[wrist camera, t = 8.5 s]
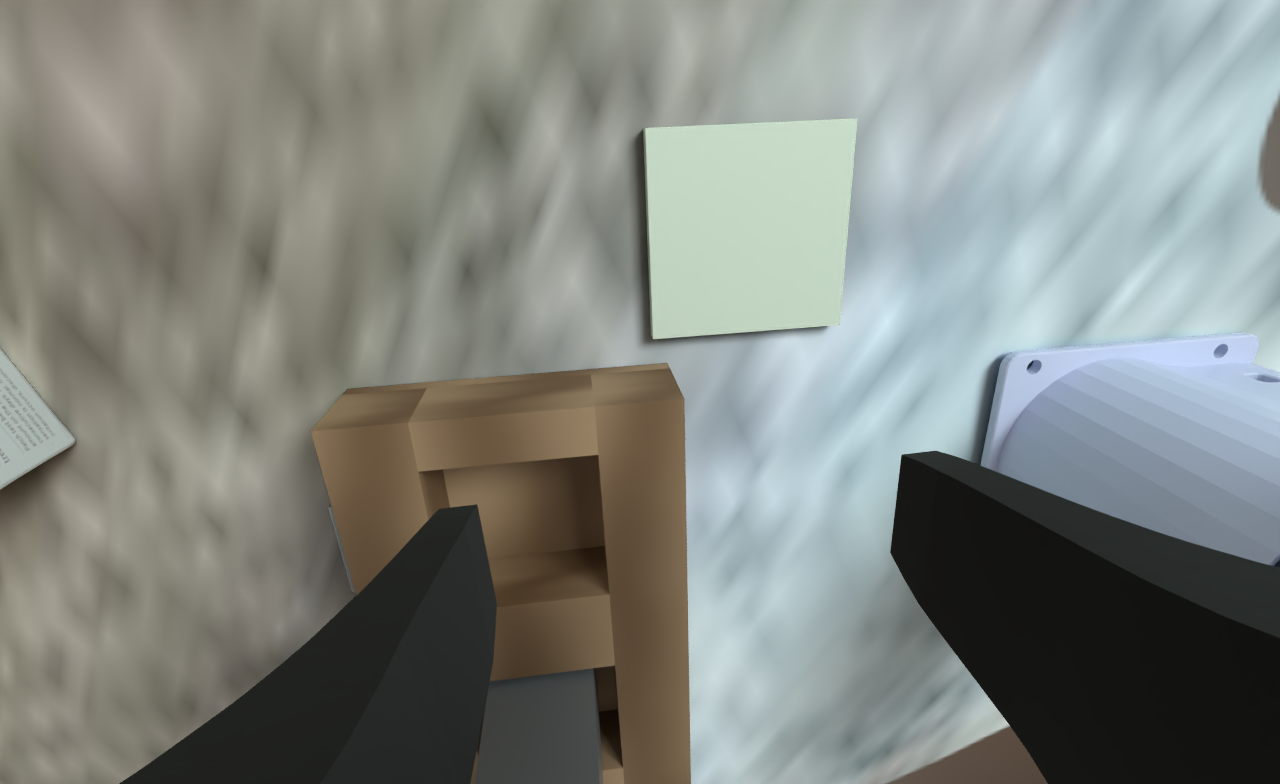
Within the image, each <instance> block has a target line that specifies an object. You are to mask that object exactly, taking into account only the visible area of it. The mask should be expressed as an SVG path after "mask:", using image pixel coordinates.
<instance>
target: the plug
mask: <svg viewBox="0 0 1280 784" xmlns="http://www.w3.org/2000/svg"><path fill="white" fill-rule="evenodd" d="M475 784H603V770H602V754H601V738H600V722H599V706H598V690H597V680H596V670H595V668H592V669H584V670H576V671H568V672H560V673H552V674H544V675H536V676H528V677H520V678H512V679H504V680H496V681H490V683H489V688H488V693H487V699H486V705H485V713H484V720H483V727H482V734H481V742H480V749H479V756H478V763H477V770H476V778H475Z"/></svg>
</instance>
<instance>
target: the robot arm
mask: <svg viewBox="0 0 1280 784" xmlns="http://www.w3.org/2000/svg"><path fill="white" fill-rule="evenodd" d="M1258 346H1259V341H1258V338H1257V337H1256V336H1255V335H1251V334H1248V333H1242V332H1239V333H1227V334H1215V335H1203V336H1191V337H1179V338H1167V339H1155V340H1143V341H1131V342H1119V343H1107V344H1096V345H1084V346H1072V347H1060V348H1048V349H1036V350H1024V351H1015V352H1011V353H1010V354H1008V355H1007V356H1005V358H1004V359H1003V360H1002V362H1001V364H1000V368H999V373H998V378H997V383H996V388H995V393H994V399H993V404H992V409H991V414H990V419H989V424H988V429H987V434H986V439H985V444H984V450H983V455H982V460H981V465H978V464H975V463H972V462H969V461H967V460H964V459H961V458H958V457H955V456H952V455H949V454H945V453H942V452H938V451H930V452H921V453H913V454H904V455H902V457H901V465H900V474H899V482H898V491H897V500H896V508H895V517H894V525H893V534H892V543H891V551H890V553H891V555H892V557H893V559H894V561H895V562H896V564H897V566H898V568H899V570H900V572H901V574H902V576H903V577H904V579H905V581H906V583H907V585H908V586H909V588H910V590H911V591H912V593H913V595H914V597H915V598H916V600H917V602H918V603H919V605H920V606H921V608H922V609H923V610H924V612H925V613H926V614H927V616H928V617H929V619H930V620H931V621H932V623H933V624H934V625H935V627H936V628H937V629H938V631H939V632H940V633H941V635H942V636H943V637H944V639H945V640H946V641H947V643H948V644H949V646H950V647H951V648H952V649H953V651H954V652H955V653H956V655H957V656H958V657H959V659H960V660H961V661H962V663H963V664H964V665H965V667H966V668H967V669H968V671H969V672H970V673H971V675H972V676H973V677H974V678H975V680H976V681H977V682H978V684H979V685H980V686H981V688H982V689H983V690H984V692H985V693H986V694H987V696H988V697H989V698H990V700H991V701H992V702H993V704H994V705H995V706H996V708H997V709H998V710H999V712H1000V713H1001V714H1002V715H1003V717H1004V718H1005V719H1006V721H1007V722H1008V723H1009V725H1010V726H1011V728H1012V729H1013V731H1014V732H1015V733H1016V735H1017V736H1018V738H1019V739H1020V741H1021V742H1022V743H1023V745H1024V746H1025V748H1026V749H1027V751H1028V752H1029V753H1030V755H1031V757H1032V758H1033V760H1034V762H1035V763H1036V765H1037V767H1038V768H1039V770H1040V771H1041V773H1042V775H1043V776H1044V778H1045V779H1046V781H1047V783H1048V784H1280V372H1278V371H1275V370H1271V369H1268V368H1265V367H1262V366H1259V365H1256V364H1253V360H1254V358H1255V355H1256V352H1257V350H1258ZM1031 361H1033V364H1032V366H1031V367H1030V368H1029V369H1028V370H1027V366H1028V364H1029V363H1030V362H1031ZM496 612H497V602H496V597H495V591H494V586H493V581H492V576H491V571H490V566H489V561H488V556H487V551H486V546H485V541H484V536H483V531H482V525H481V520H480V515H479V510H478V505H477V504H476V505H467V506H459V507H450V508H442V509H439V510H438V511H437V512H436V513H435V514H434V515H433V516H432V517H431V518H430V519H429V520H428V521H427V522H426V523H425V524H424V525H423V526H422V527H421V528H420V530H419V531H418V532H417V533H416V534H415V535H414V536H413V537H412V538H411V539H410V540H409V542H408V543H407V544H406V545H405V546H404V547H403V548H402V549H401V550H400V551H399V552H398V553H397V554H396V556H395V557H394V558H393V559H392V560H391V561H390V562H389V563H388V564H387V565H386V566H385V567H384V568H383V569H382V570H381V571H380V572H379V573H378V574H377V575H376V576H375V578H374V579H373V580H372V581H371V582H370V583H369V584H368V585H367V586H366V587H365V588H364V589H363V590H362V591H361V592H360V593H359V594H358V595H357V596H356V597H354V598H353V599H352V600H351V601H350V602H349V603H348V604H347V605H346V606H345V607H344V608H343V609H342V610H341V611H340V612H339V613H338V614H337V615H336V616H335V617H333V618H332V619H331V620H330V621H329V622H328V623H327V624H326V625H325V626H324V627H323V628H322V629H321V630H320V631H319V632H318V633H317V634H316V635H315V636H314V637H312V638H311V639H310V640H309V641H308V642H307V643H306V644H304V645H303V646H302V647H301V648H300V649H299V650H298V651H296V652H295V653H294V654H293V655H292V656H291V657H289V658H288V659H287V660H286V661H285V662H284V663H282V664H281V665H280V666H279V667H278V668H276V669H275V670H274V671H273V672H271V673H270V674H269V675H268V676H266V677H265V678H264V679H263V680H262V681H260V682H259V683H258V684H257V685H255V686H254V687H253V688H252V689H250V690H249V691H248V692H247V693H245V694H244V695H243V696H242V697H240V698H239V699H238V700H236V701H235V702H234V703H233V704H231V705H230V706H229V707H227V708H226V709H225V710H223V711H222V712H220V713H219V714H218V715H216V716H215V717H213V718H212V719H211V720H209V721H208V722H206V723H205V724H204V725H202V726H201V727H199V728H198V729H197V730H195V731H194V732H193V733H191V734H190V735H188V736H187V737H186V738H184V739H183V740H181V741H180V742H179V743H177V744H176V745H174V746H173V747H172V748H170V749H169V750H168V751H166V752H165V753H163V754H162V755H161V756H159V757H158V758H156V759H155V760H154V761H152V762H151V763H149V764H148V765H147V766H145V767H144V768H142V769H141V770H139V771H138V772H136V773H135V774H133V775H132V776H130V777H129V778H127V779H126V780H124V781H123V782H121V783H120V784H470V782H471V777H472V772H473V767H474V762H475V756H476V751H477V746H478V741H479V736H480V730H481V725H482V720H483V715H484V710H485V704H486V699H487V693H488V688H489V683H490V677H491V672H492V666H493V658H494V644H495V630H496Z"/></svg>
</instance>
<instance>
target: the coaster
mask: <svg viewBox="0 0 1280 784" xmlns="http://www.w3.org/2000/svg"><path fill="white" fill-rule="evenodd" d="M856 129H857V119H835V120H813V121H791V122H769V123H747V124H724V125H702V126H680V127H658V128H643V140H644V166H645V192H646V219H647V245H648V271H649V298H650V324H651V336H652V338H653V339H663V338H676V337H689V336H702V335H715V334H728V333H741V332H754V331H767V330H780V329H793V328H806V327H819V326H832V325H840V316H841V304H842V292H843V281H844V269H845V257H846V246H847V234H848V222H849V211H850V199H851V187H852V176H853V164H854V152H855V141H856Z"/></svg>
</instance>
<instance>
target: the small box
mask: <svg viewBox="0 0 1280 784" xmlns="http://www.w3.org/2000/svg"><path fill="white" fill-rule="evenodd" d="M74 444H75V438H74V437H73V435H72V434H71V433H70V432H69V431H68V429H67V428H66V427H65V426H64V425H63V423H62V422H61V421H60V420H59V419H58V418H57V416H56V415H55V414H54V413H53V412H52V410H51V409H50V408H49V407H48V406H47V405H46V403H45V402H44V401H43V400H42V399H41V397H40V396H39V395H38V394H37V393H36V391H35V390H34V389H33V388H32V387H31V385H30V384H29V383H28V382H27V380H26V379H25V378H24V377H23V376H22V374H21V373H20V372H19V371H18V369H17V368H16V367H15V366H14V364H13V363H12V362H11V361H10V360H9V358H8V357H7V356H6V355H5V353H4V352H3V351H2V350H1V348H0V490H1V489H2V488H4V487H5V486H7V485H8V484H10V483H12V482H13V481H15V480H16V479H18V478H20V477H21V476H23V475H24V474H26V473H28V472H29V471H31V470H33V469H34V468H36V467H37V466H39V465H41V464H42V463H44V462H46V461H47V460H49V459H51V458H52V457H54V456H56V455H57V454H59V453H61V452H63V451H64V450H66V449H68V448H69V447H71V446H73V445H74Z"/></svg>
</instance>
